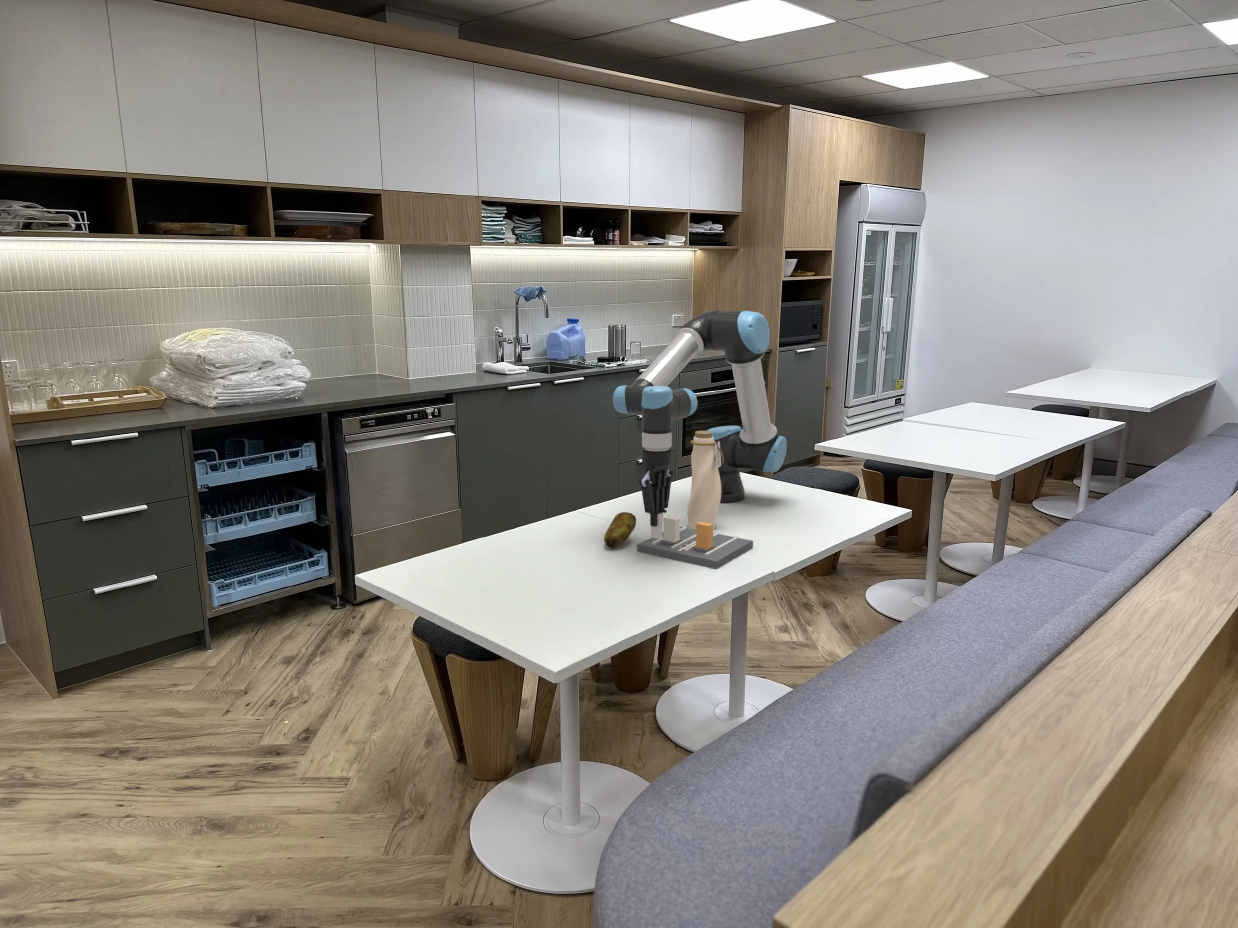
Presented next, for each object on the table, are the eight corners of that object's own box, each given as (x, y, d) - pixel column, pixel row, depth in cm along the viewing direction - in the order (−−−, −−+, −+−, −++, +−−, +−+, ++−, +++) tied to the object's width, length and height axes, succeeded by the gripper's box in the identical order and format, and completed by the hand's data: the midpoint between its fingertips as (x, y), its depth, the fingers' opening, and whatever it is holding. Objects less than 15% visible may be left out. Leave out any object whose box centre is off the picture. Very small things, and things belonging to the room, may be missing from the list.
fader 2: (701, 546, 226) (701, 520, 225) (714, 548, 224) (715, 523, 223) (693, 550, 223) (694, 524, 222) (707, 553, 221) (707, 526, 219)
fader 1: (669, 539, 232) (669, 514, 230) (681, 542, 230) (682, 517, 228) (661, 543, 229) (661, 518, 227) (673, 546, 227) (674, 520, 225)
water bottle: (722, 522, 254) (724, 429, 247) (722, 532, 245) (724, 435, 239) (687, 522, 255) (688, 429, 248) (686, 531, 246) (687, 435, 240)
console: (676, 532, 245) (676, 523, 244) (752, 547, 231) (753, 538, 231) (637, 551, 229) (637, 541, 228) (716, 568, 215) (716, 558, 215)
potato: (591, 545, 234) (591, 517, 232) (623, 535, 243) (623, 507, 241) (614, 552, 228) (614, 523, 226) (645, 541, 238) (645, 513, 236)
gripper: (658, 442, 225) (657, 528, 230) (629, 450, 214) (630, 541, 220) (682, 445, 220) (681, 533, 226) (655, 454, 210) (654, 546, 215)
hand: (656, 537), depth 223 cm, fingers closed
